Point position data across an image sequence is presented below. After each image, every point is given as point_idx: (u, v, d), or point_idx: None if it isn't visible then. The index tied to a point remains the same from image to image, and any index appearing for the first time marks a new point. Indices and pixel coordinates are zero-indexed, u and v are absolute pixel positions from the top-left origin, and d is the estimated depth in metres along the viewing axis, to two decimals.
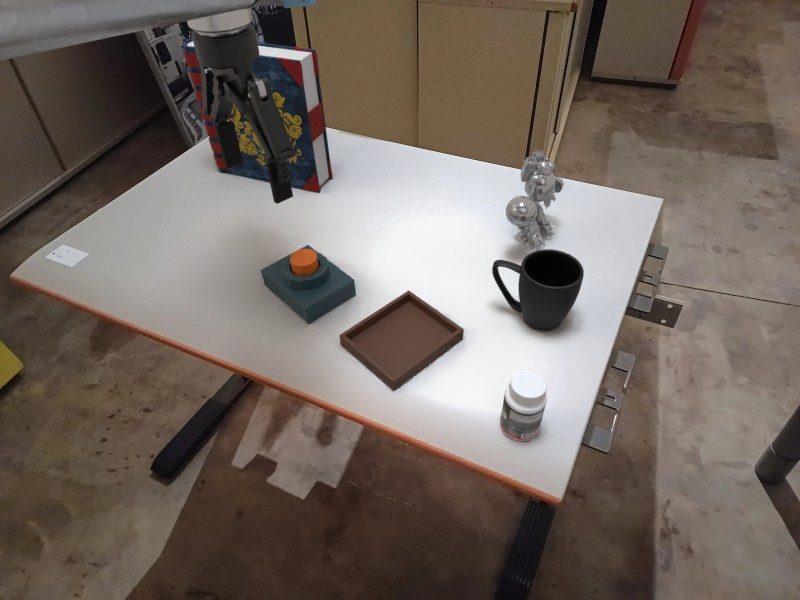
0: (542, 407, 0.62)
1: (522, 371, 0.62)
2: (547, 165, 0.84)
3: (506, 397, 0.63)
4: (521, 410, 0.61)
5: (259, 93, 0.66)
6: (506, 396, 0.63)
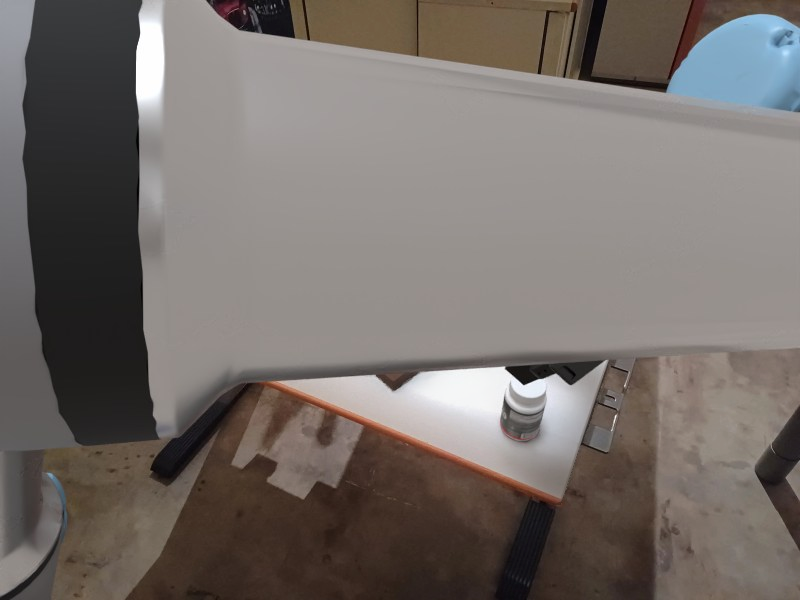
0: (542, 407, 0.62)
1: None
2: None
3: (506, 397, 0.63)
4: (521, 410, 0.61)
5: None
6: (506, 396, 0.63)
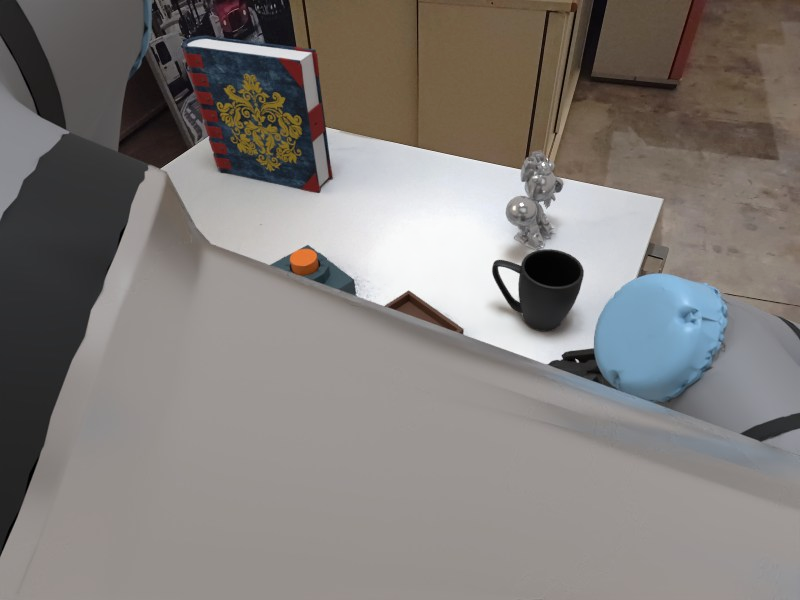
0: None
1: None
2: (547, 165, 0.84)
3: None
4: None
5: None
6: None
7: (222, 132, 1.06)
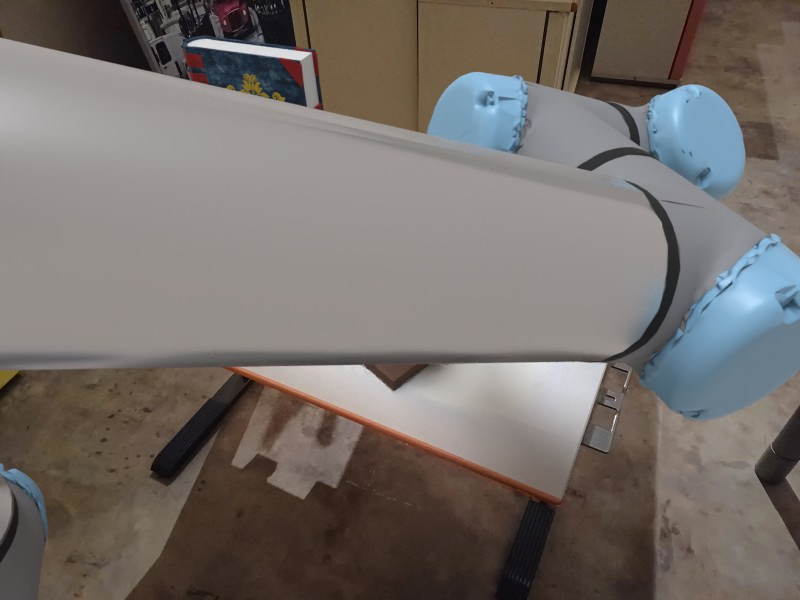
0: None
1: None
2: None
3: None
4: None
5: None
6: None
7: None
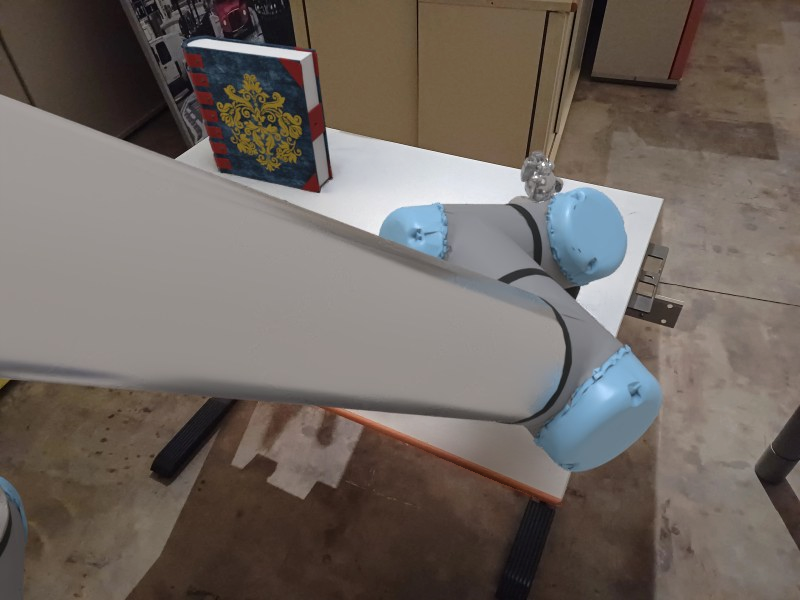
0: None
1: None
2: (547, 165, 0.84)
3: None
4: None
5: None
6: None
7: (222, 132, 1.06)
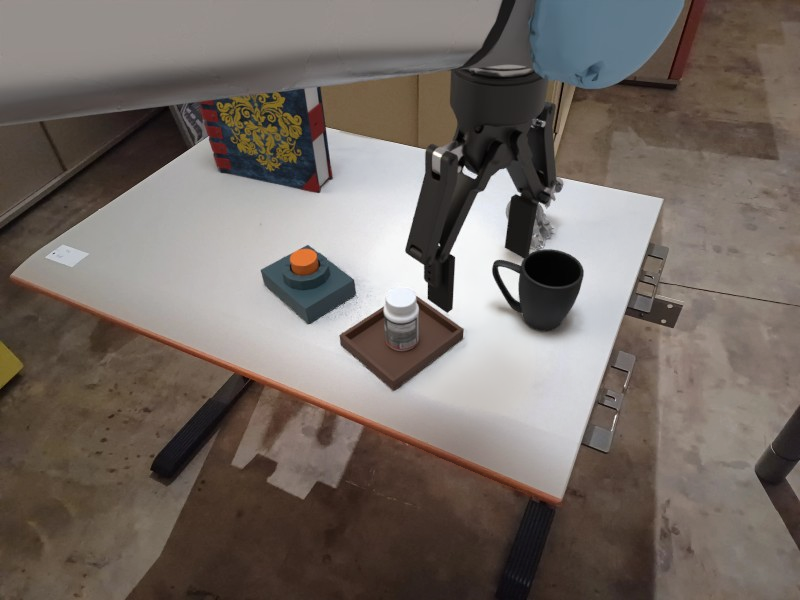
0: (413, 317, 0.72)
1: (397, 287, 0.73)
2: None
3: (384, 310, 0.73)
4: (394, 319, 0.71)
5: (431, 165, 0.43)
6: (384, 309, 0.73)
7: (222, 132, 1.06)
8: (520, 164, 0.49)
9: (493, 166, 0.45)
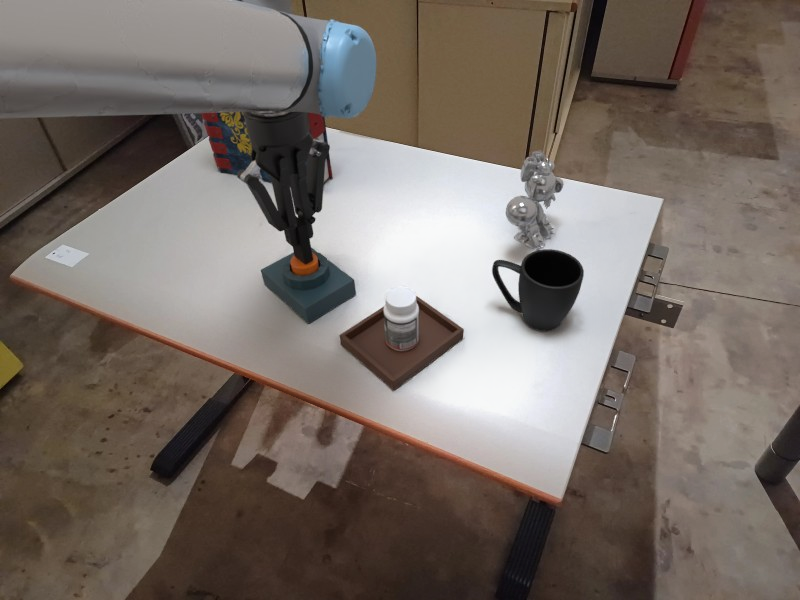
0: (413, 317, 0.72)
1: (397, 287, 0.73)
2: (547, 165, 0.84)
3: (384, 310, 0.73)
4: (394, 319, 0.71)
5: None
6: (384, 309, 0.73)
7: (222, 132, 1.06)
8: (297, 177, 0.72)
9: (280, 172, 0.69)
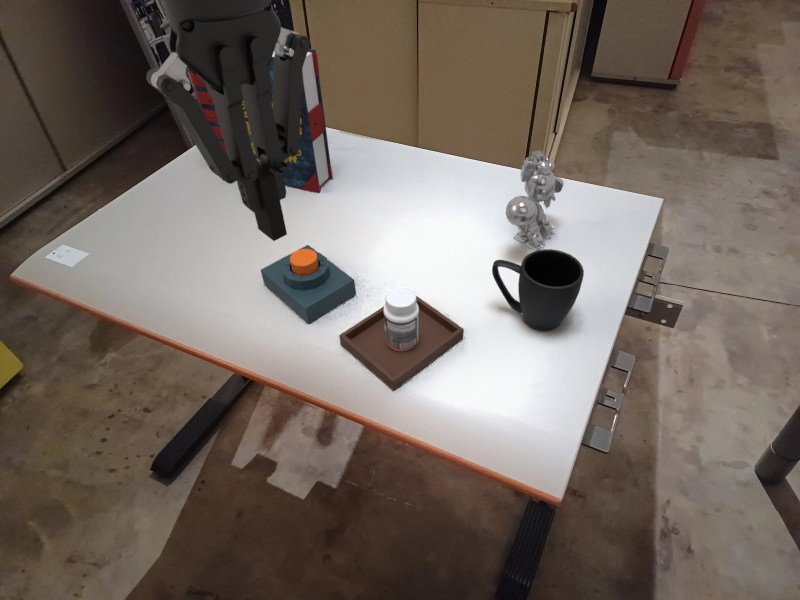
0: (413, 317, 0.72)
1: (397, 287, 0.73)
2: (547, 165, 0.84)
3: (384, 310, 0.73)
4: (394, 319, 0.71)
5: (161, 92, 0.40)
6: (384, 309, 0.73)
7: None
8: (255, 90, 0.43)
9: (223, 75, 0.40)
